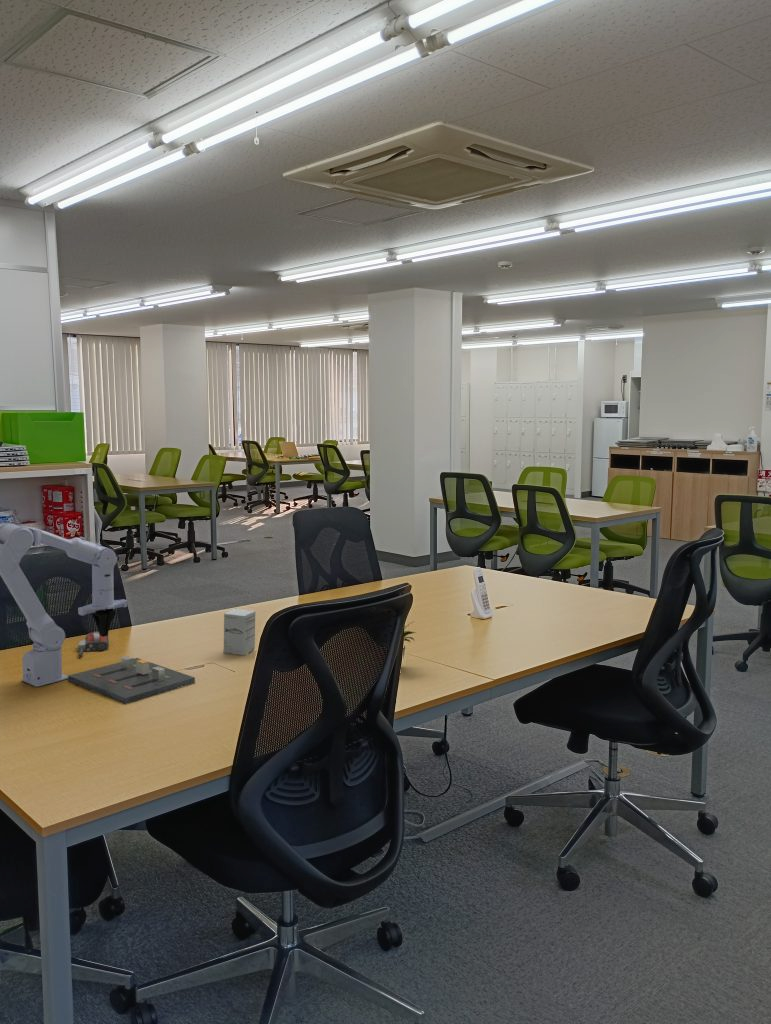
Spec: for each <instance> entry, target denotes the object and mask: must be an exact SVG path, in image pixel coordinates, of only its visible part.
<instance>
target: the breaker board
mask: <svg viewBox="0 0 771 1024" xmlns="http://www.w3.org/2000/svg"><path fill="white" fill-rule="evenodd" d="M138 660H142V658H139V657H136V658H135V657H132V656H129V655H125V656H121V657H120V662H119V661H118V662H115V663H112V664H108V665H104V666H101V667H96V668H92V669H87V670H85V671H80V672H78V673H77V672H76V673H72V674H69V675H67V676H68V679H67V681H68V682H70V683H73V684H75V685H77V686H81V687H83V688H85V689H88V690H91V691H93V692H95V693H98V694H101V695H102V696H105V697H107V698H110V699H113V700H115V701H118V702H121V703H122V704H125V705H126V704H129V703H133V702H137V701H140V700H142V699H145V698H149V697H153V696H155V695H156V696H157V695H159V694H163V693H166V692H169V691H172V689H173V690H176V689H178V687H179V688H182V687H181V686H183V687H186V686H189V685H192V684H195V683H196V682H195V681H196V680H195V679H196V678H195V677H194V676H192V675H189V674H185V673H182V672H179V671H177V670H173V669H171V668H167V667H166V666H165V667H164V666H162V665H159V664H158V663H157V664H156V663H153V662H150V661H149V673H148V674H144V675H142V674H139V673H137V672H136V661H138ZM194 682H195V683H194ZM191 683H192V684H191ZM188 684H189V685H188ZM185 685H186V686H185ZM175 688H176V689H175Z"/></svg>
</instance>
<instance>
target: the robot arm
mask: <svg viewBox="0 0 771 1024" xmlns="http://www.w3.org/2000/svg"><path fill="white" fill-rule="evenodd" d="M39 545H45V546H49V547H53V548H56V549H58V550H62V551H65V553H66V556H67V557H69V558H71V559H74V560H77V561H80V562H82V563H83V562H84V563H87V564H91V580H92V581H91V584H92V585H91V587H92V589H91V592H92V595H91V596H92V603H90V604H87V605H84V606H80V607H77V608H78V609H77V613H78V615H79V616H82V617H83V616H86V615H89V614H90V615H91V617H92V618H93V621H94V623H95V625H96V627H97V632H99V635H100V636H103V637H104V636H108V637H109V631H110V627H111V624H112V622H113V620H114V618H115V616H116V615H117V614H116V612H117V611H116V610H114V609H118V608H128V600H127V599H114V598H115V596H114V595H115V594H114V593H115V590H114V585H115V584H114V583H115V582H114V579H115V578H114V568H115V566H116V565H117V563H118V556H117V554H116V552H115V550H113V549H112V548H109V547H105V546H103V545H102V544H101V543H99V542H92V541H89V540H87V538H86V537H84V536H79V537H72V538H70V539H67V538H65V537H62V536H59V535H57V534H54V533H51V532H48V531H46V530H43V529H40V528H36V527H31V526H27V525H20V524H19V525H17V524H15V523H12V522H8V523H3V524H2V525H0V577H1V578H2V580H3V582H4V584H5V585H6V588H7V589H8V591H9V592H10V594H11V596H12V597H13V599H14V600H15V602H16V605H18V607H19V609H20V611H21V613H22V614H23V616H24V618H25V619H26V627H27V628H28V636H29V639H30V640H31V641H32V642H33V643H32V649H31V650H29V651H26V652H24V654H23V656H22V678H21V681H22V682H24V683H26V684H29V685H32V686H34V687H42V686H46V685H49V684H53V683H58V682H61V681H66V680H68V675H65V674H63V660H62V659H63V658H62V657H63V655H62V654H63V653H62V652H63V651H62V648H63V647H62V646H63V644H64V643H65V641H66V633H65V631H64V629H63V628H62V627H60V626H58V625H57V623H56V622H55V620H54V619H53V618H52V617H51V616H50V615H49V614H48V613H47V612H46V610H45V607H44V606H43V604H42V603H41V600H40V599H39V597H38V596H37V594H36V592H35V591H34V589H33V587H32V586H31V584H30V582H29V579H28V578H27V577H26V575H25V573H24V572H23V570H22V569H21V566H20V564H21V560H22V558H23V557H24V556H25V555H26V553H27V552H28V551H29V550H30V549H31V547H32V546H33V547H37V546H39Z"/></svg>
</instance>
